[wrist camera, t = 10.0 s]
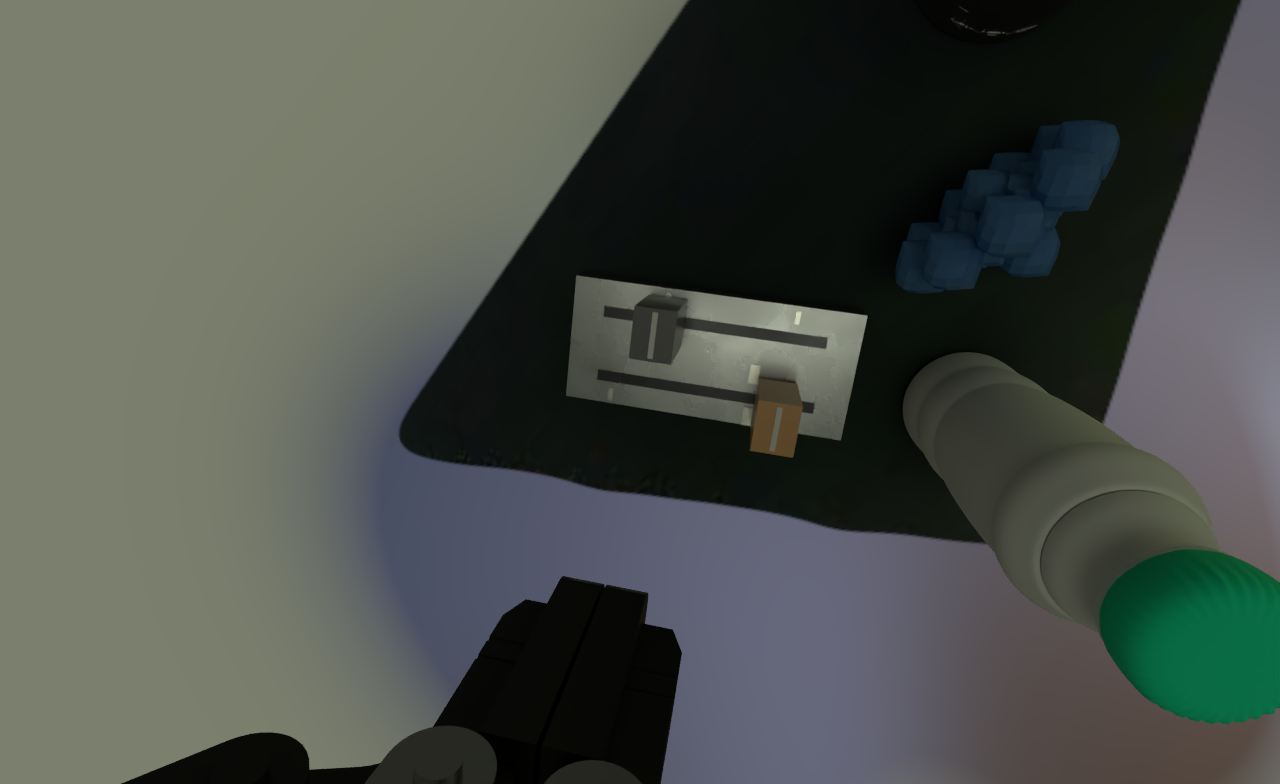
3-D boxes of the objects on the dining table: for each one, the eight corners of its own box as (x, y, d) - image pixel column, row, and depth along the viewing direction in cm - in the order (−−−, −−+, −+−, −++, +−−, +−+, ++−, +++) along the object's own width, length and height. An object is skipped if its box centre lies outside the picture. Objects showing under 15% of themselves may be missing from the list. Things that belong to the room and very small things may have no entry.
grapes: (919, 328, 40) (982, 374, 29) (852, 243, 40) (890, 256, 28) (1097, 199, 37) (1249, 195, 26) (1027, 104, 36) (1151, 56, 25)
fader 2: (758, 377, 41) (758, 400, 36) (797, 383, 40) (803, 407, 35) (750, 423, 41) (749, 451, 37) (788, 429, 41) (792, 458, 36)
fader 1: (648, 294, 40) (634, 305, 35) (687, 299, 40) (677, 311, 35) (643, 341, 41) (628, 359, 36) (680, 347, 41) (670, 365, 36)
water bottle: (906, 463, 43) (1093, 775, 19) (893, 359, 41) (1082, 560, 17) (1022, 448, 41) (1384, 768, 18) (1015, 340, 40) (1401, 532, 16)
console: (584, 272, 43) (576, 275, 41) (862, 310, 41) (867, 316, 39) (573, 387, 45) (565, 396, 43) (836, 430, 43) (840, 441, 41)
